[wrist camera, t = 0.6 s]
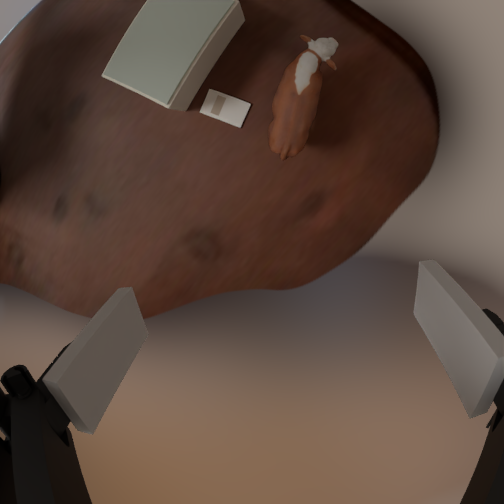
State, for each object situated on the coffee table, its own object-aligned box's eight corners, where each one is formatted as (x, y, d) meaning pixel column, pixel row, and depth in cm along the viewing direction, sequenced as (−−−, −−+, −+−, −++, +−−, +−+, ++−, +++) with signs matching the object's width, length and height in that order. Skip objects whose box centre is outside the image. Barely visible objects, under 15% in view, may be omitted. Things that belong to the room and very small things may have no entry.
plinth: (126, 81, 31) (99, 75, 25) (181, -6, 26) (164, -26, 20) (185, 111, 32) (167, 108, 26) (245, 20, 27) (238, -1, 22)
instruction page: (199, 112, 32) (199, 112, 32) (210, 88, 31) (209, 88, 31) (240, 127, 32) (240, 127, 32) (251, 104, 31) (250, 103, 31)
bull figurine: (334, 56, 28) (350, 36, 21) (294, 160, 33) (299, 169, 26) (297, 42, 28) (303, 18, 21) (257, 147, 33) (251, 152, 26)
